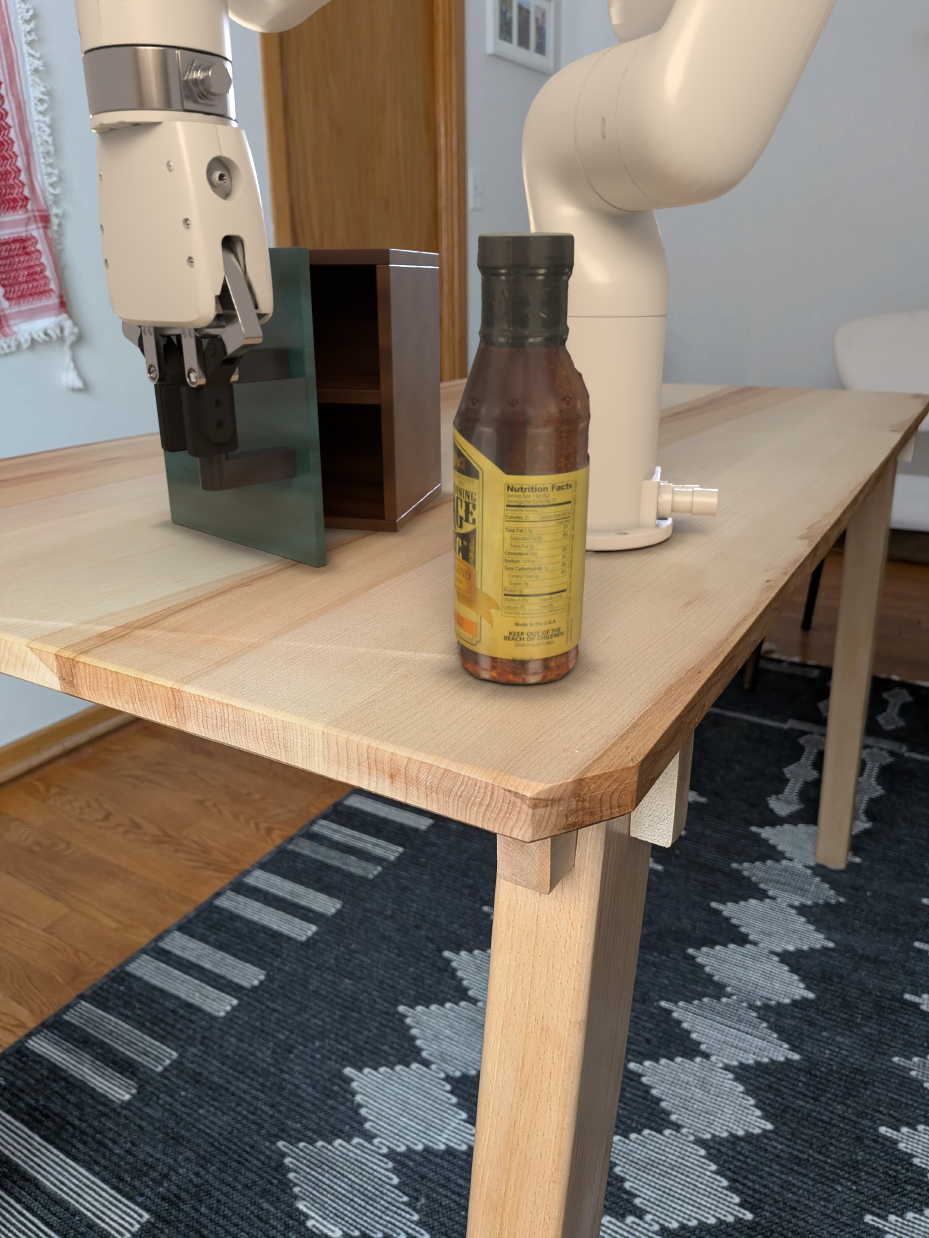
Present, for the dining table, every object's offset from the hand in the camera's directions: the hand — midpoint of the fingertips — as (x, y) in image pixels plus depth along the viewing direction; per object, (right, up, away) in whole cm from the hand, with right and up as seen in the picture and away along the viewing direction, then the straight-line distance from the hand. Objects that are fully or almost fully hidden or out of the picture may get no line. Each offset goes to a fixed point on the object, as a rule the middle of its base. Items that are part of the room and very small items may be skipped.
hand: (200, 449), depth 55 cm
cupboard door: (-2, -5, +10) cm, 11 cm away
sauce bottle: (+18, -13, -9) cm, 24 cm away
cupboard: (+3, -1, +23) cm, 23 cm away
